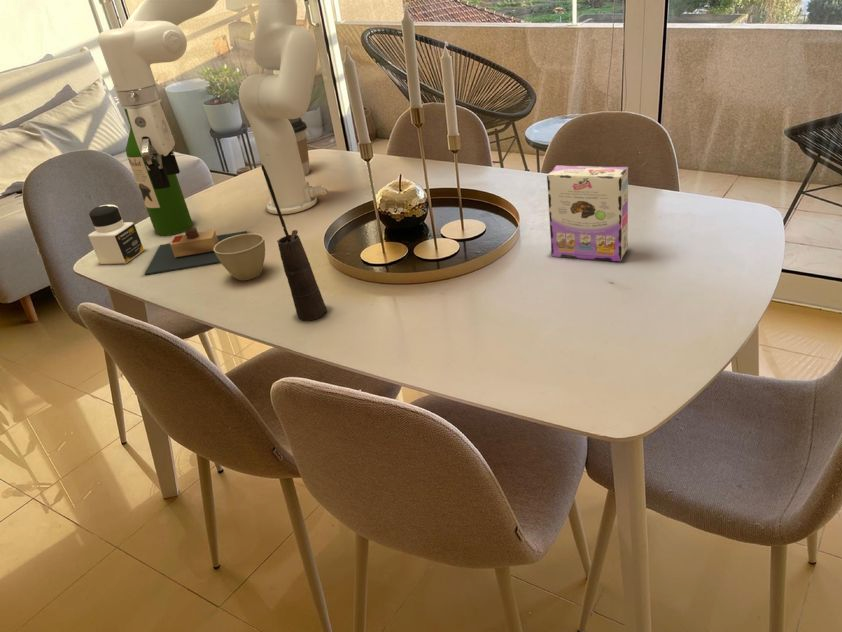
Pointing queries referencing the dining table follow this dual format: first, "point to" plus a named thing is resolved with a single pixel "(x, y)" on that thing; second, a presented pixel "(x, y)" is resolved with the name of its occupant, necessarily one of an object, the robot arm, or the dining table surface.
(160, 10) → the robot arm
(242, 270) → the beige bowl
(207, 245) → the stamp
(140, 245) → the medicine bottle
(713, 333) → the dining table surface
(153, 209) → the wine bottle
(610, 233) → the candy box
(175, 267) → the desk mat
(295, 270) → the butter churn
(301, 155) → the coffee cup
